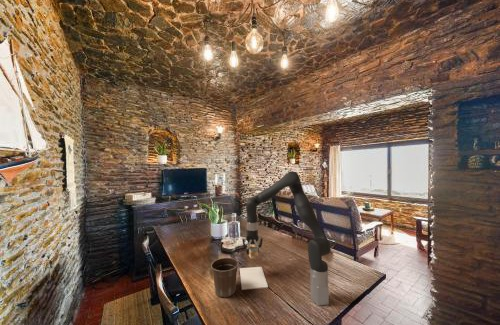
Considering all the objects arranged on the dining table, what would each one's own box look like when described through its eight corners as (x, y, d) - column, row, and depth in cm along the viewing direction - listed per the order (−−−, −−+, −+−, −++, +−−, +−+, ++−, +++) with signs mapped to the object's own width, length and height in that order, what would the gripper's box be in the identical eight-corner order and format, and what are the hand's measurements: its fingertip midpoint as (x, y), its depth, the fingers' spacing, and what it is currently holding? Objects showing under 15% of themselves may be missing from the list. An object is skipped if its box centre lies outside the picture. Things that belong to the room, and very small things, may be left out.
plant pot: (205, 291, 116) (205, 263, 117) (227, 279, 128) (227, 255, 128) (222, 304, 105) (221, 274, 105) (244, 291, 116) (244, 263, 116)
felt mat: (268, 287, 119) (268, 286, 119) (241, 289, 117) (241, 288, 117) (261, 267, 143) (261, 266, 143) (239, 268, 141) (239, 268, 141)
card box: (254, 252, 136) (254, 244, 136) (258, 257, 127) (258, 249, 127) (247, 252, 134) (247, 245, 135) (250, 258, 126) (250, 250, 126)
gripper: (261, 226, 135) (262, 250, 135) (241, 227, 134) (241, 252, 134) (263, 229, 128) (264, 255, 128) (241, 230, 126) (242, 257, 126)
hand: (252, 253), depth 131 cm, fingers closed on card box, 5 cm apart
